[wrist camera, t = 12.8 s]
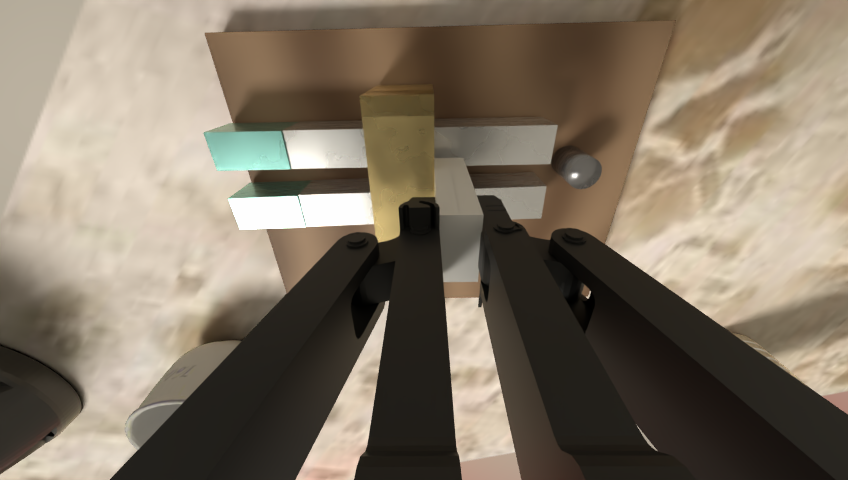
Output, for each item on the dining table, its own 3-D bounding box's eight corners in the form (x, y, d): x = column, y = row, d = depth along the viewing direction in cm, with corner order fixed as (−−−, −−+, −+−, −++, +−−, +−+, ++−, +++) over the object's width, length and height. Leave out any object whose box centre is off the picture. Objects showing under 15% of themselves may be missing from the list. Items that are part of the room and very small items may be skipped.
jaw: (260, 211, 21) (239, 229, 19) (250, 182, 20) (228, 198, 18) (529, 201, 20) (541, 219, 18) (533, 171, 19) (547, 186, 17)
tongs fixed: (250, 179, 20) (226, 196, 18) (232, 122, 18) (203, 132, 16) (577, 173, 20) (598, 190, 17) (591, 115, 18) (617, 124, 16)
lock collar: (389, 226, 22) (379, 273, 17) (377, 85, 17) (359, 95, 12) (433, 226, 21) (434, 272, 17) (432, 83, 17) (434, 94, 12)
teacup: (204, 306, 28) (131, 388, 21) (318, 350, 31) (286, 435, 24) (177, 387, 34) (113, 471, 27) (274, 418, 37) (238, 501, 30)
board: (295, 286, 27) (288, 299, 25) (221, 34, 17) (204, 32, 16) (579, 283, 26) (587, 296, 25) (656, 23, 17) (676, 20, 16)
